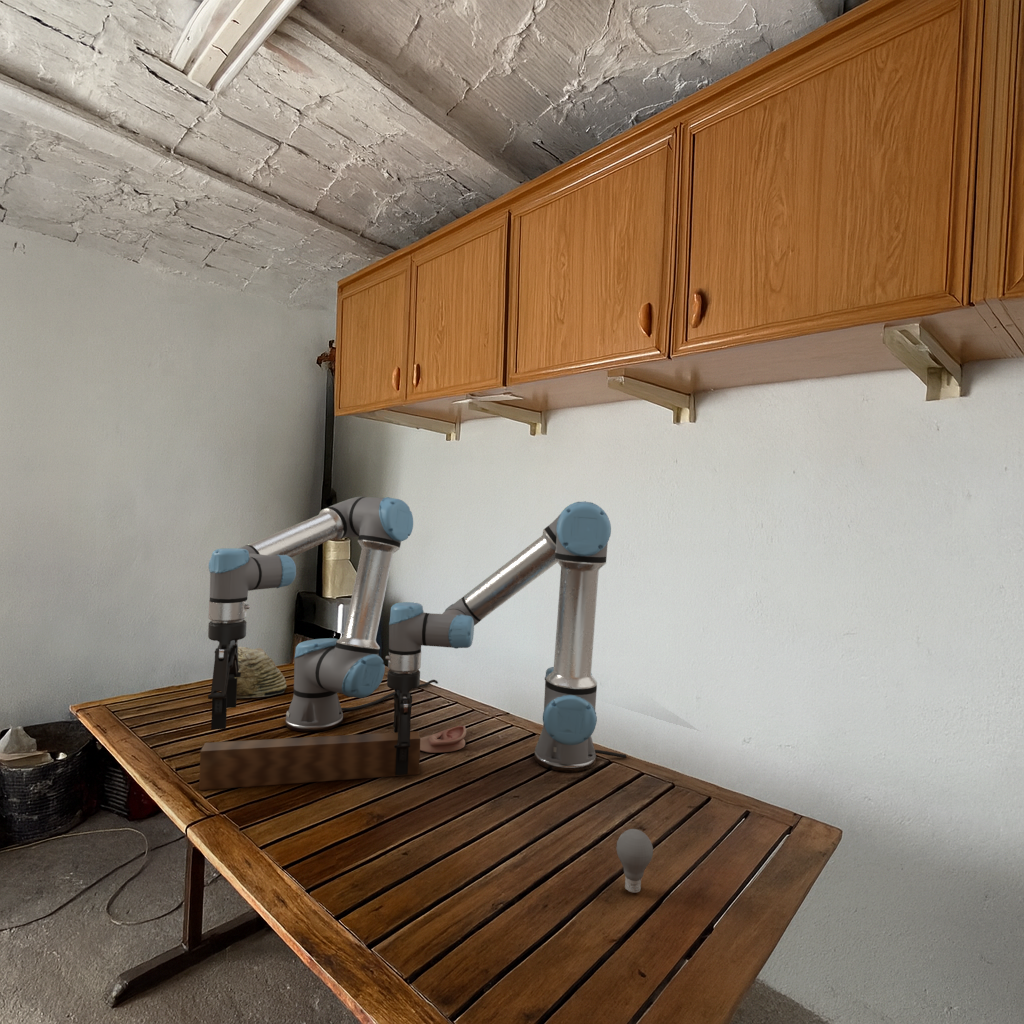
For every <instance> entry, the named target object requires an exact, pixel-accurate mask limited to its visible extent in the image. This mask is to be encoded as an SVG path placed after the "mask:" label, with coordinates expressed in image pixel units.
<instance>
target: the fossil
mask: <svg viewBox="0 0 1024 1024" xmlns="http://www.w3.org/2000/svg"><path fill="white" fill-rule="evenodd" d="M238 665H239V671H238V672H241V677H235V678H237V699H250V698H264V697H271V696H275V695H281V694H284V693H285V691H286V689H287V687H288V686H287V680H286V678H285V676H284V674H283V673H282V672H281V669H279V668H278V667H277V665H276V663H275V662H274V660H273V659H272V658H271V657H270V656H269V655H268V654H267V653H266V652H265V650H264V649H263V648H260V647H258V648H251V647H247V646H246V647H245V646H238Z"/></svg>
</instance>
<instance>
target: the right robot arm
mask: <svg viewBox="0 0 1024 1024" xmlns="http://www.w3.org/2000/svg"><path fill="white" fill-rule="evenodd" d="M611 534H612V525H611V521H610V518H609V516H608V514H607V513H606V512H605V510H604V509H603V508H602V507H601V506H599V505H598V504H596V503H593V502H591V501H586V500H585V501H584V500H583V501H576V502H573V503H571V504H568V505H567V506H566V507H565V508H564V509H563V510H562V511H561V512H560V514H558V516H557V517H556V518H555V519H554V520H553V521H552V522H551V523H550V524H548V525H547V526H546V527H545V528H543V529H542V534H541V536H540V537H538V538H537V539H536V540H534V541H533V542H531V544H529V545H528V546H527V547H525V548H524V549H523V550H521V551H520V552H519V553H518V554H516V555H515V556H514V557H512V558H511V559H510V560H508V561H507V562H506V563H504V564H503V565H501V566H500V568H498V569H497V570H496V571H494V572H492V574H491V575H489V576H488V577H486V578H485V579H484V580H482V581H481V582H480V583H478V584H477V585H476V586H475V587H473V588H472V589H471V590H469V592H466V594H465V595H463V596H462V597H461V598H459V599H457V601H454V603H452V604H451V605H449V606H448V607H447V608H445V610H444V611H443V612H442V613H429V612H424V606H423V605H422V604H421V603H419V602H414V601H413V602H411V601H403V602H396V603H394V604H392V606H391V607H390V615H389V622H388V655H385V660H386V661H387V668H388V670H387V677H386V685H387V687H388V688H389V689H391V690H394V692H395V693H394V695H393V710H394V711H393V724H392V726H393V727H392V728H393V733H396V732H398V743H397V745H394V748H396V770H395V775H403V776H409V775H408V753H409V747H410V732H411V721H412V720H411V717H412V707H413V705H412V703H413V695H412V692H410V691H411V690H415V689H418V688H417V687H418V686H419V685H421V671H420V669H421V667H422V647H423V646H425V647H437V648H453V649H468V648H471V646H472V645H473V640H474V635H475V626H476V625H477V624H479V623H480V622H481V621H482V620H484V619H485V618H486V617H487V616H489V615H490V614H492V612H494V611H496V609H498V608H500V607H501V606H502V605H503V604H505V603H506V602H508V601H509V600H510V599H511V598H513V597H514V596H515V595H516V594H518V593H519V592H521V591H522V590H523V589H524V588H526V587H527V586H528V585H530V584H531V583H533V582H534V581H535V580H536V579H537V578H539V577H541V575H543V574H544V573H546V572H547V571H548V570H549V569H551V568H552V567H554V566H555V565H556V564H558V565H559V566H560V576H559V591H558V604H557V618H556V631H555V644H554V660H553V666H551V667H548V668H547V669H546V670H545V677H544V699H543V713H542V724H543V725H542V729H541V733H540V734H539V737H538V740H537V743H536V745H535V748H534V760H535V761H536V762H537V763H538V765H540V766H542V767H544V768H547V769H549V770H552V771H556V772H564V773H576V772H584V771H587V770H590V769H592V768H593V767H594V766H595V765H596V761H597V754H599V755H603V756H604V755H606V756H611V757H616V758H621V759H626V758H627V754H624V753H617V752H612V751H606V750H600V749H595V745H594V741H593V737H592V735H593V734H594V732H595V729H596V725H597V724H598V723H597V722H598V716H597V711H596V707H597V706H596V705H597V704H596V703H597V689H598V681H597V680H596V679H595V677H594V676H593V673H592V667H593V654H594V642H595V641H594V639H595V626H596V615H597V613H596V612H597V598H598V587H599V573H600V572H599V571H600V570H601V569H602V568H603V567H604V566H605V565H606V564H607V556H608V543H609V541H610V538H611Z"/></svg>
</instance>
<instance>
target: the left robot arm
mask: <svg viewBox="0 0 1024 1024" xmlns="http://www.w3.org/2000/svg"><path fill="white" fill-rule="evenodd" d="M413 529H414V516H413V513H412V511H411V509H410V506H409V505H408V504H407V503H406V502H405V501H404V500H402V499H399V498H393V497H389V496H387V497H383V496H381V497H379V496H355V497H352V498H348V499H345V500H343V501H340V502H337V503H334V504H333V505H330V506H328V507H325V508H323V509H321V510H320V511H319V512H318V515H315V516H313V517H311V518H309V519H305V520H304V521H301V522H299V523H296V524H294V525H291V526H289V527H287V528H284V529H282V530H279V531H277V532H275V533H272V534H270V535H267V536H265V537H263V538H260V539H258V540H256V541H253V542H250V543H248V544H246V545H243V546H240V547H238V548H236V547H231V548H230V547H228V548H226V547H225V548H224V547H222V548H216V549H215V550H213V551H212V553H211V557H210V558H209V561H208V571H209V600H208V617H207V619H209V620H210V621H209V622H208V625H207V626H208V629H207V637H208V639H209V640H211V641H214V642H216V641H217V642H218V645H217V647H216V648H215V650H214V663H213V671H212V681H211V689H210V694H208V695H207V699H208V700H211V722H210V724H211V725H210V729H211V730H226V729H227V713H228V712H227V710H228V709H230V708H234V709H235V708H237V701H238V700H237V699H238V698H237V678H235V677H241V672H238V671H239V665H238V647H239V645H238V643H239V642H238V641H240V640H243V639H245V638H246V636H247V623H248V622H247V620H245V619H246V618H247V615H248V613H247V612H248V611H247V610H250V609H251V606H250V604H247V603H248V595H249V592H250V591H256V590H267V589H280V588H284V587H287V586H290V585H291V584H293V582H294V581H295V579H296V576H297V566H296V562H295V561H294V559H293V558H294V557H295V556H298V555H300V554H302V553H304V552H305V553H306V552H307V551H309V550H311V549H314V548H315V547H318V546H320V545H322V544H324V543H326V542H329V541H332V542H336V541H339V540H342V539H344V538H354V537H355V538H357V543H358V544H359V546H360V547H361V551H360V556H359V561H358V565H357V569H356V574H355V580H354V584H353V589H352V594H351V598H350V603H349V609H348V612H347V619H346V622H345V626H344V627H345V628H344V632H343V635H342V636H341V637H340V638H339V639H338V638H335V637H333V638H332V637H329V638H315V639H308V640H304V641H302V642H299V643H298V644H297V645H296V646H295V652H294V653H295V654H294V656H293V659H294V661H293V662H294V663H293V664H294V668H293V695H292V696H293V697H292V699H291V702H290V704H289V708H288V710H287V711H286V712H285V726H286V728H287V729H289V730H291V731H294V732H295V731H296V732H301V733H316V732H325V731H329V730H332V729H335V728H337V727H339V726H340V725H342V723H343V722H344V714H343V712H350V711H355V710H360V709H364V708H367V707H370V706H371V707H372V706H374V705H376V704H378V703H381V702H383V701H384V700H387V699H388V698H391V697H394V693H395V691H393V692H390V693H388V694H386V695H384V696H382V697H381V698H379V699H376V700H374V701H371V702H368V703H364V704H361V705H357V706H350V707H342V706H341V702H340V699H339V695H338V694H341V695H344V696H346V697H348V698H357V699H365V698H367V697H370V696H371V695H372V694H373V693H374V692H375V691H377V690H378V688H379V686H380V685H381V683H382V681H383V679H384V675H385V671H386V669H385V668H386V666H385V663H384V660H383V658H382V657H381V656H380V655H379V654H380V649H381V647H380V645H379V644H378V643H377V635H378V630H379V625H380V621H381V616H382V612H383V611H382V610H383V605H384V600H385V595H386V590H387V585H388V581H389V576H390V571H391V565H392V561H393V556H394V554H395V553H396V552H398V551H399V550H400V548H401V544H402V542H404V541H406V540H408V539H409V537H410V536H411V534H412V533H413ZM432 683H435V684H437V685H438V684H439V681H438V680H436V679H431V680H428V681H427V682H424V683H420V685H419V686H418V687H417V688H416V689H418V688H423V687H426V686H428V685H430V684H432Z"/></svg>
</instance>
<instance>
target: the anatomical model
mask: <svg viewBox="0 0 1024 1024" xmlns="http://www.w3.org/2000/svg"><path fill="white" fill-rule="evenodd" d="M466 735H467V728H466V726H464V725H458V726H453V727H450V728H446V729H443V730H441V731H439V732H436V733H433V734H429V735H424V736H422V737H420V752H425V753H430V754H433V753H434V754H436V753H449V752H455V751H458V750H461V749H463V748H465V746H466V740H465V737H466Z"/></svg>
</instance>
